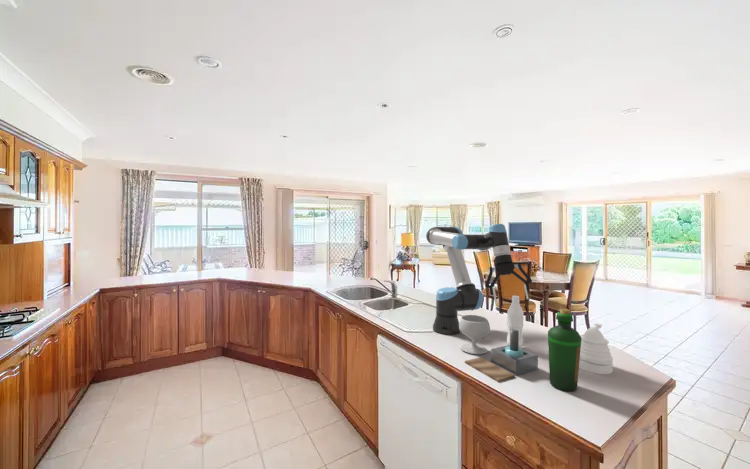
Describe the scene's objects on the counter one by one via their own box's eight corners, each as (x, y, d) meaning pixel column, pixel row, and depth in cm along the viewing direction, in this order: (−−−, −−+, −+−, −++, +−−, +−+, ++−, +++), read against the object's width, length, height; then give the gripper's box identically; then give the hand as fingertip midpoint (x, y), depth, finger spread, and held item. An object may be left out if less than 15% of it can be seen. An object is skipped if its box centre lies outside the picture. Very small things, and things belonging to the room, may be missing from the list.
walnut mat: (464, 362, 131) (464, 360, 131) (480, 359, 135) (480, 357, 135) (497, 382, 115) (497, 379, 115) (515, 377, 119) (515, 375, 119)
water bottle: (524, 351, 144) (525, 298, 143) (508, 350, 145) (509, 297, 145) (520, 345, 151) (521, 294, 150) (505, 344, 152) (506, 294, 152)
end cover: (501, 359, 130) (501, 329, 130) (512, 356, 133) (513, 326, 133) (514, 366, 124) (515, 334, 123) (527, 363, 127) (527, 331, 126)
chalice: (474, 358, 136) (474, 324, 135) (452, 347, 148) (452, 316, 148) (496, 352, 142) (496, 320, 142) (473, 342, 155) (474, 312, 154)
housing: (491, 362, 131) (491, 348, 131) (512, 357, 137) (512, 344, 137) (515, 375, 120) (516, 360, 120) (537, 369, 125) (538, 355, 125)
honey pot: (593, 359, 136) (593, 318, 135) (620, 373, 123) (622, 328, 123) (567, 361, 134) (568, 320, 133) (593, 375, 121) (594, 329, 121)
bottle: (588, 391, 109) (589, 312, 108) (564, 395, 106) (566, 314, 105) (561, 377, 119) (563, 305, 118) (539, 381, 116) (541, 307, 115)
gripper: (474, 258, 149) (482, 303, 143) (531, 249, 140) (542, 297, 134) (476, 260, 156) (484, 303, 150) (530, 252, 146) (541, 298, 140)
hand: (511, 300), depth 142 cm, fingers open, 13 cm apart
